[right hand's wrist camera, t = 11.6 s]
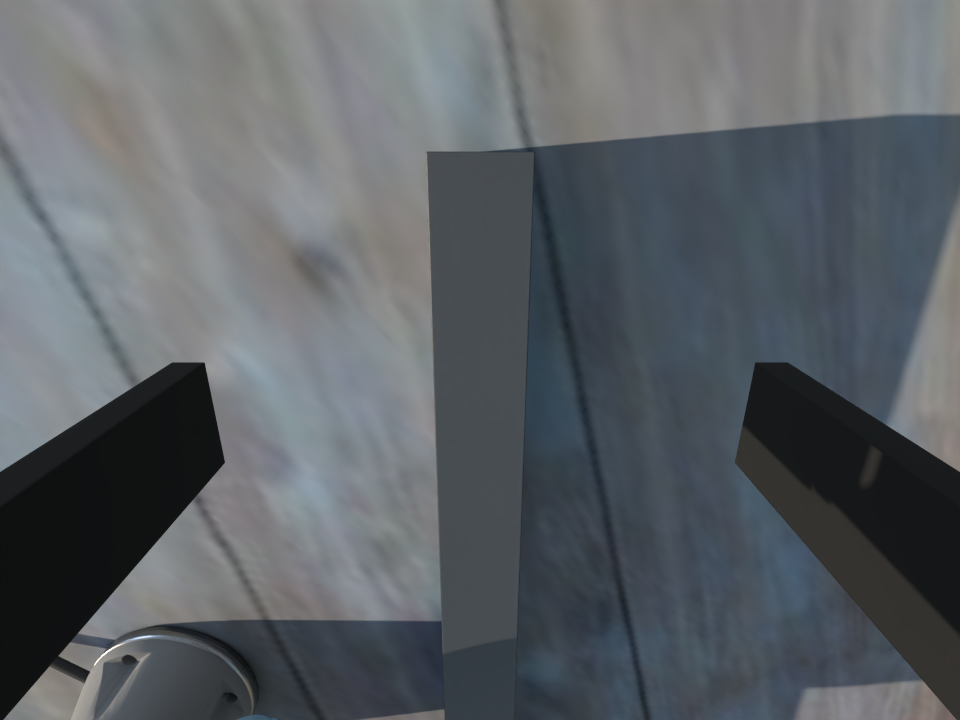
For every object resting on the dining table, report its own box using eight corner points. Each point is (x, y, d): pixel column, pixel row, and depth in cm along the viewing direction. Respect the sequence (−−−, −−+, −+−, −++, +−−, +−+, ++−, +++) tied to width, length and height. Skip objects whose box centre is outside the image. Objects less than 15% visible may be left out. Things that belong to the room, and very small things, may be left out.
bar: (438, 155, 33) (425, 151, 25) (521, 155, 33) (534, 151, 25) (456, 854, 60) (452, 960, 52) (502, 855, 60) (505, 960, 52)
